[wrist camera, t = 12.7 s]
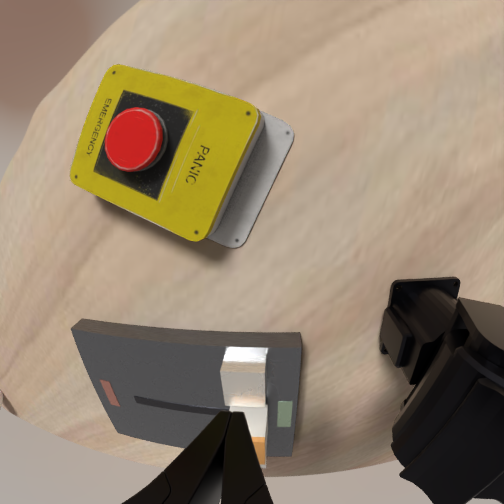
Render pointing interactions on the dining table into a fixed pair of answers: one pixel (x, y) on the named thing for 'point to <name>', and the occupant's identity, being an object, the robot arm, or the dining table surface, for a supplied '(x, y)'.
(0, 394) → the white rounded lump
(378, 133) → the dining table surface
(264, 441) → the block
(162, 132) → the emergency button
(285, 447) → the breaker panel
